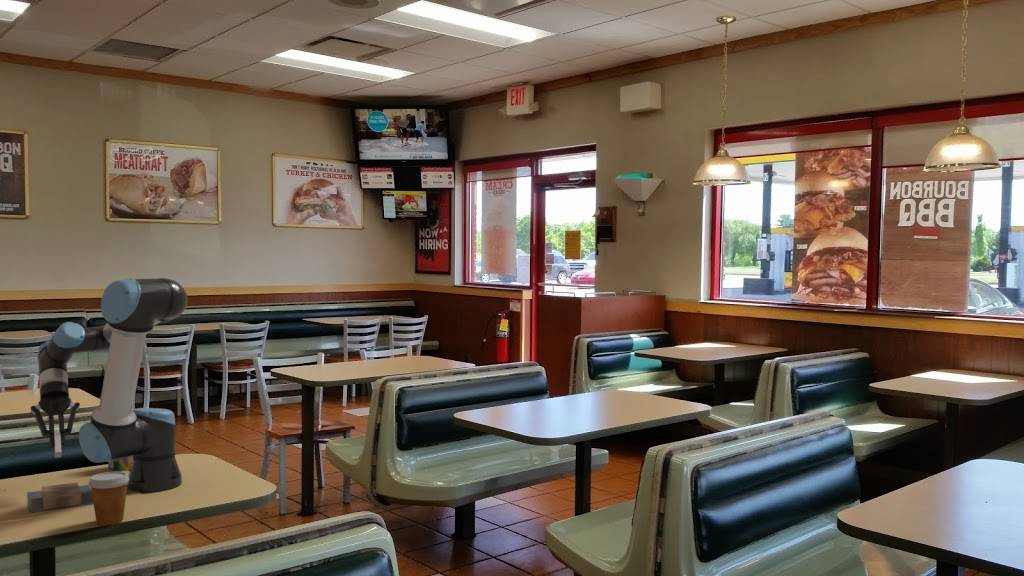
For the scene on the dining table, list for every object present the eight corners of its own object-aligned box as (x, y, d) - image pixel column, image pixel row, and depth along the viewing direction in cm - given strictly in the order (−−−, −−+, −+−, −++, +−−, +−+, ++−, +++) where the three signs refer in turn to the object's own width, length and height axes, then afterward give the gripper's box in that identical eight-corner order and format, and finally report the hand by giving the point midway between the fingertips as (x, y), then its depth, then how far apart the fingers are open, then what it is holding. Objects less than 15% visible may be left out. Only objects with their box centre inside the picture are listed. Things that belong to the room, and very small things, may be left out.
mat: (89, 486, 249) (89, 484, 249) (95, 505, 231) (95, 503, 230) (27, 493, 241) (27, 492, 241) (28, 514, 222) (28, 513, 222)
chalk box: (147, 467, 271) (146, 422, 270) (118, 473, 264) (117, 426, 263) (135, 462, 277) (135, 418, 276) (107, 468, 270) (106, 422, 270)
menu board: (77, 482, 241) (80, 494, 229) (77, 492, 241) (81, 505, 229) (41, 486, 236) (43, 499, 224) (41, 497, 237) (43, 510, 225)
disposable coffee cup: (133, 523, 216) (132, 477, 215) (92, 529, 210) (91, 482, 210) (126, 513, 224) (125, 469, 223) (86, 519, 218) (86, 474, 218)
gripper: (78, 392, 255) (83, 459, 242) (28, 396, 248) (31, 464, 235) (79, 378, 250) (84, 444, 237) (29, 381, 243) (32, 450, 230)
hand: (58, 454), depth 236 cm, fingers closed
